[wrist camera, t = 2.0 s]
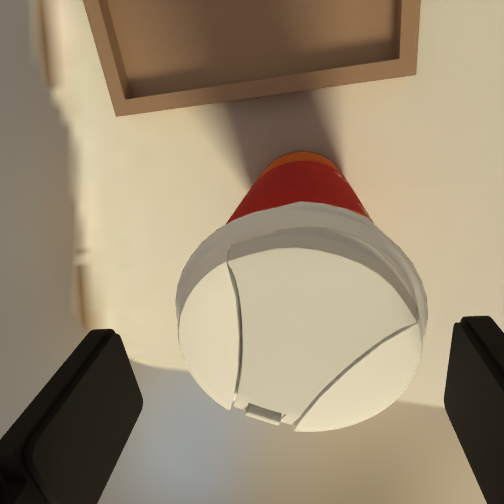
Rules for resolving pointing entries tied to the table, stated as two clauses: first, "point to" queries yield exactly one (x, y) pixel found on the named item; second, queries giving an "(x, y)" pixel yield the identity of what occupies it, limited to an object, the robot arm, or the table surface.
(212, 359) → the paper cup
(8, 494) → the robot arm
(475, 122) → the table surface
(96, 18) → the tray
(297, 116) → the table surface
